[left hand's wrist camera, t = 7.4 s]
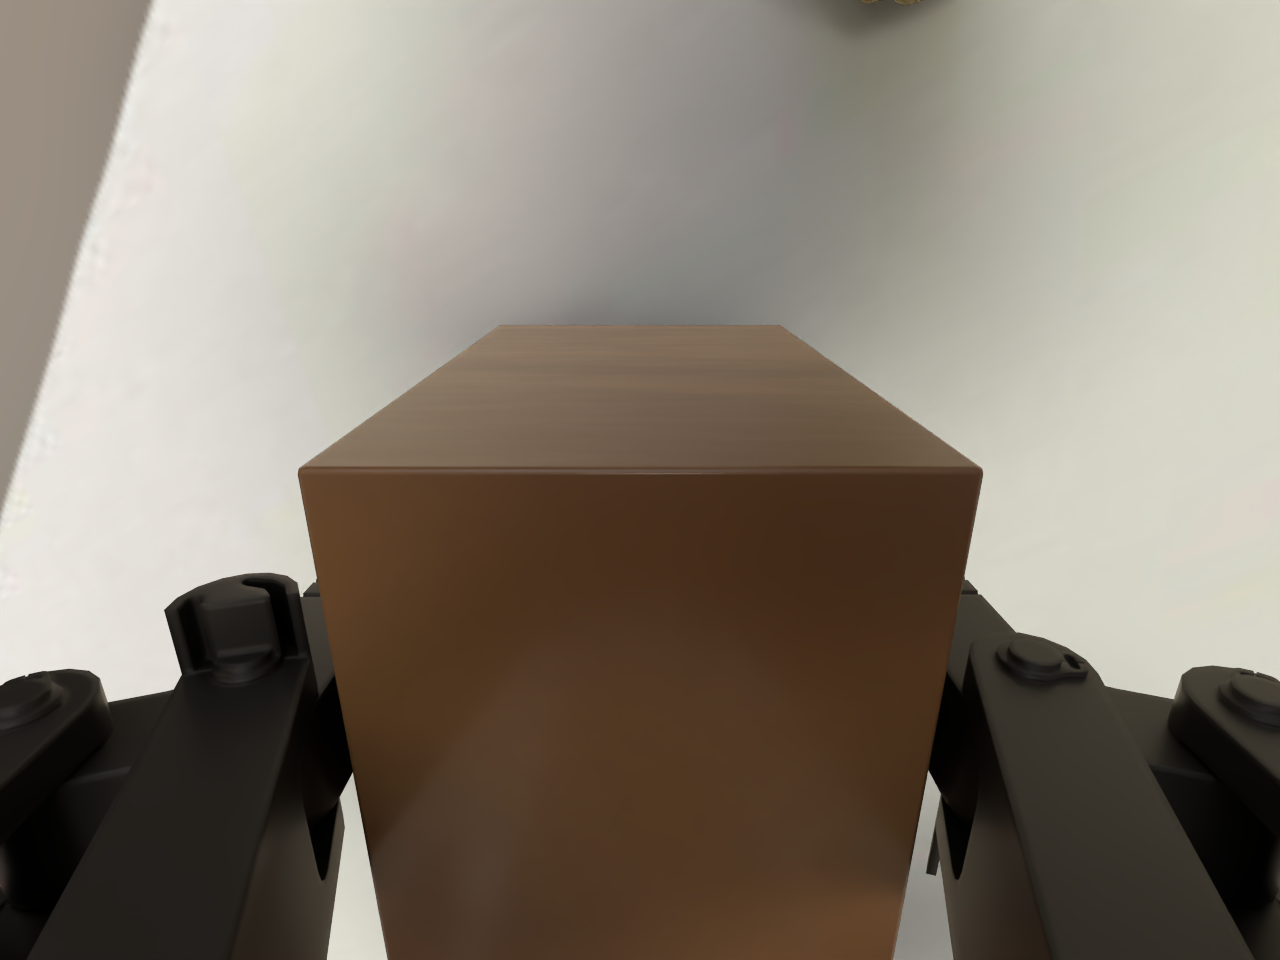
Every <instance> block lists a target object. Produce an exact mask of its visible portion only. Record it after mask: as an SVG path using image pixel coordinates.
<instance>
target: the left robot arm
mask: <svg viewBox="0 0 1280 960" xmlns="http://www.w3.org/2000/svg"><path fill="white" fill-rule="evenodd" d="M164 611H165V615H166V618H167V622H168V626H169V629H170V633H171V636H172V640H173V644H174V647H175V651H176V654H177V658H178V662H179V665H180V669H181V672H182V676H181V677H180V679H179V681H178V683H177V685H176V687H175V688H174V690H170V691H166V692H161V693H156V694H150V695H145V696H140V697H134V698H129V699H124V700H119V701H113V702H107V699H106V696H105V693H104V690H103V687H102V684H101V681H100V678H99V677H97V676H96V675H94V674H93V673H91V672H90V671H85V670H76V669H64V670H56V671H48V672H47V671H41V672H37V673H32V674H29V675H28V676H27V677H25V675H24V676H21V677H18V678H15V679H12V680H9V681H7V682H5V683H4V684H3V685H1V686H0V960H327V953H328V945H329V938H330V931H331V923H332V916H333V909H334V902H335V894H336V887H337V880H338V872H339V865H340V858H341V851H342V843H343V836H344V829H345V826H344V819H343V812H342V807H341V802H340V795H341V793H342V792H343V790H344V788H345V786H346V784H347V782H348V780H349V778H350V776H351V774H352V772H353V769H352V764H351V759H350V753H349V748H348V742H347V737H346V732H345V726H344V721H343V715H342V710H341V705H340V699H339V694H338V688H337V683H336V678H335V672H334V667H333V661H332V656H331V650H330V645H329V640H328V634H327V629H326V623H325V618H324V613H323V607H322V602H321V596H320V591H319V586H318V580H317V579H316V583H313V584H312V585H311V586H310V587H309V588H308V589H307V590H306V591H305V592H304V593H303V597H300V594H299V589H298V584H297V582H295V581H294V580H292V579H291V578H289V577H288V576H285V575H279V574H274V573H252V574H243V575H238V576H233V577H227V578H222V579H219V580H216V581H213V582H210V583H208V584H205V585H202V586H199V587H197V588H195V589H193V590H191V591H189V592H187V593H185V594H183V595H182V596H180V597H178V598H177V599H175V600H174V601H173V602H172V603H171V604H170V605H169V606H168V607H167V608H166V609H165V610H164ZM928 770H929V772H930V774H931V776H932V777H933V779H934V781H935V783H936V785H937V787H938V789H939V791H940V793H941V797H940V802H939V807H938V812H937V817H936V822H935V827H934V832H933V837H932V842H931V847H930V853H929V858H928V864H927V871H926V873H927V874H931V875H935V876H936V872H937V868H938V863H939V861H940V864H941V871H942V878H943V885H944V893H945V900H946V907H947V914H948V922H949V929H950V936H951V943H952V951H953V958H954V960H1280V682H1279V681H1278V680H1277V679H1276V678H1274V677H1271V676H1268V675H1265V674H1262V673H1259V672H1257V674H1256V673H1254V672H1253V671H1251V670H1246V669H1242V668H1228V667H1220V666H1204V667H1195V668H1192V669H1190V670H1189V671H1187V672H1186V673H1184V674H1183V675H1182V677H1181V680H1180V683H1179V686H1178V689H1177V692H1176V695H1175V698H1174V699H1168V698H1163V697H1158V696H1152V695H1147V694H1142V693H1136V692H1131V691H1126V690H1120V689H1115V688H1111V687H1107V686H1105V685H1104V683H1103V682H1102V680H1101V678H1100V676H1099V674H1098V673H1097V672H1096V671H1095V670H1094V668H1093V667H1092V666H1091V665H1090V664H1089V663H1088V662H1087V660H1085V659H1084V658H1082V657H1081V656H1079V655H1078V654H1076V653H1074V652H1073V651H1071V650H1070V649H1068V648H1067V647H1064V646H1062V645H1059V644H1057V643H1054V642H1052V641H1049V640H1047V639H1044V638H1041V637H1036V636H1032V635H1027V634H1023V633H1016V632H1015V631H1014V630H1013V629H1012V628H1011V627H1010V626H1009V624H1008V623H1007V622H1006V621H1005V620H1004V619H1003V618H1002V617H1001V616H1000V615H999V614H998V613H997V611H996V610H995V609H994V608H993V607H992V606H991V605H990V604H989V603H988V602H987V601H986V599H985V598H984V597H983V596H982V595H978V591H977V590H976V589H975V588H974V586H973V585H972V584H971V583H970V582H969V581H968V580H965V577H964V580H963V585H962V591H961V596H960V602H959V607H958V612H957V618H956V623H955V628H954V634H953V639H952V645H951V650H950V655H949V661H948V666H947V671H946V677H945V682H944V688H943V693H942V698H941V704H940V709H939V714H938V720H937V725H936V731H935V736H934V741H933V747H932V752H931V757H930V763H929V768H928Z"/></svg>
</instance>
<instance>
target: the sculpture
mask: <svg viewBox="0 0 1280 960" xmlns="http://www.w3.org/2000/svg"><path fill="white" fill-rule="evenodd" d="M861 1H862V2H864V3H873V2H877V1H881V0H861ZM894 1H895V2H896V3H899V4H901V5H909V4H914V3H917V2H920V1H923V0H894Z"/></svg>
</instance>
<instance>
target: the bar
mask: <svg viewBox="0 0 1280 960" xmlns="http://www.w3.org/2000/svg"><path fill="white" fill-rule="evenodd" d="M298 478H299V483H300V488H301V494H302V499H303V505H304V510H305V515H306V521H307V526H308V532H309V537H310V542H311V548H312V553H313V559H314V564H315V569H316V575H317V580H318V586H319V591H320V596H321V602H322V607H323V613H324V618H325V623H326V629H327V634H328V640H329V645H330V650H331V656H332V661H333V667H334V672H335V678H336V683H337V688H338V694H339V699H340V705H341V710H342V715H343V721H344V726H345V732H346V737H347V742H348V748H349V753H350V759H351V764H352V769H353V775H354V780H355V786H356V791H357V796H358V802H359V807H360V813H361V818H362V823H363V829H364V834H365V840H366V845H367V850H368V856H369V861H370V867H371V872H372V877H373V883H374V888H375V894H376V899H377V904H378V910H379V915H380V921H381V926H382V931H383V937H384V942H385V948H386V953H387V958H388V960H893V956H894V951H895V946H896V940H897V935H898V930H899V924H900V919H901V913H902V908H903V903H904V897H905V892H906V887H907V881H908V876H909V870H910V865H911V860H912V854H913V849H914V844H915V838H916V833H917V827H918V822H919V817H920V811H921V806H922V801H923V795H924V790H925V784H926V779H927V774H928V768H929V763H930V757H931V752H932V747H933V741H934V736H935V731H936V725H937V720H938V714H939V709H940V704H941V698H942V693H943V688H944V682H945V677H946V671H947V666H948V661H949V655H950V650H951V645H952V639H953V634H954V628H955V623H956V618H957V612H958V607H959V602H960V596H961V591H962V585H963V580H964V575H965V569H966V564H967V558H968V553H969V548H970V542H971V537H972V532H973V526H974V521H975V515H976V510H977V505H978V499H979V494H980V489H981V483H982V478H983V470H982V468H981V467H979V466H978V465H977V464H975V463H974V462H972V461H971V460H970V459H968V458H967V457H965V456H964V455H962V454H961V453H960V452H958V451H957V450H955V449H954V448H953V447H951V446H950V445H948V444H947V443H946V442H944V441H943V440H941V439H940V438H939V437H937V436H936V435H934V434H933V433H931V432H930V431H929V430H927V429H926V428H924V427H923V426H922V425H920V424H919V423H917V422H916V421H915V420H913V419H912V418H910V417H909V416H908V415H906V414H905V413H903V412H902V411H900V410H899V409H898V408H896V407H895V406H893V405H892V404H891V403H889V402H888V401H886V400H885V399H884V398H882V397H881V396H879V395H878V394H877V393H875V392H874V391H872V390H871V389H869V388H868V387H867V386H865V385H864V384H862V383H861V382H860V381H858V380H857V379H855V378H854V377H853V376H851V375H850V374H848V373H847V372H846V371H844V370H843V369H841V368H840V367H838V366H837V365H836V364H834V363H833V362H831V361H830V360H829V359H827V358H826V357H824V356H823V355H822V354H820V353H819V352H817V351H816V350H815V349H813V348H812V347H810V346H809V345H807V344H806V343H805V342H803V341H802V340H800V339H799V338H798V337H796V336H795V335H793V334H792V333H791V332H789V331H788V330H786V329H785V328H784V327H782V326H780V325H500V326H498V327H497V328H495V329H494V330H493V331H491V332H490V333H488V334H487V335H486V336H484V337H483V338H481V339H480V340H479V341H477V342H476V343H474V344H473V345H472V346H470V347H469V348H467V349H466V350H465V351H463V352H462V353H460V354H459V355H458V356H456V357H455V358H453V359H452V360H450V361H449V362H448V363H446V364H445V365H443V366H442V367H441V368H439V369H438V370H436V371H435V372H434V373H432V374H431V375H429V376H428V377H427V378H425V379H424V380H422V381H421V382H420V383H418V384H417V385H415V386H414V387H413V388H411V389H410V390H408V391H407V392H406V393H404V394H403V395H401V396H400V397H398V398H397V399H396V400H394V401H393V402H391V403H390V404H389V405H387V406H386V407H384V408H383V409H382V410H380V411H379V412H377V413H376V414H375V415H373V416H372V417H370V418H369V419H368V420H366V421H365V422H363V423H362V424H361V425H359V426H358V427H356V428H355V429H354V430H352V431H351V432H349V433H348V434H346V435H345V436H344V437H342V438H341V439H339V440H338V441H337V442H335V443H334V444H332V445H331V446H330V447H328V448H327V449H325V450H324V451H323V452H321V453H320V454H318V455H317V456H316V457H314V458H313V459H311V460H310V461H309V462H307V463H306V464H304V465H303V466H302V467H300V468H299V470H298Z"/></svg>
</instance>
